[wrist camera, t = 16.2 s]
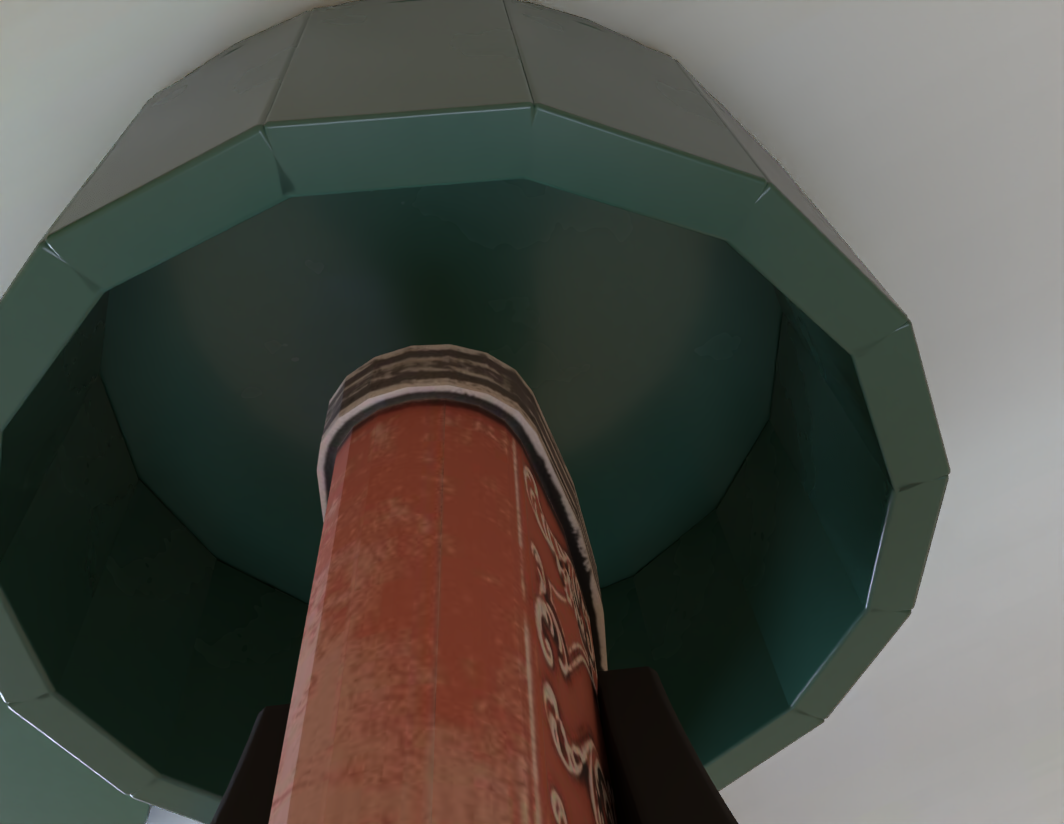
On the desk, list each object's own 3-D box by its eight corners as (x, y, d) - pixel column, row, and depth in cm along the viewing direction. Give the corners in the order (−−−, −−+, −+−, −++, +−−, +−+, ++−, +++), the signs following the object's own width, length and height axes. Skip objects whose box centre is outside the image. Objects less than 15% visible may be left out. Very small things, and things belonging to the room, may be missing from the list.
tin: (772, 597, 22) (860, 815, 18) (180, 658, 21) (115, 900, 17) (863, -39, 14) (1063, 62, 10) (-70, 26, 14) (-313, 167, 9)
